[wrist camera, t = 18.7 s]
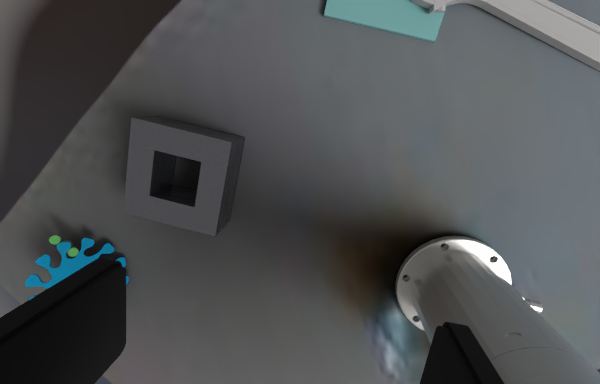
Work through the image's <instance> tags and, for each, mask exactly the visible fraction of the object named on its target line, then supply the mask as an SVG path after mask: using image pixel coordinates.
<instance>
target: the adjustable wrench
mask: <svg viewBox="0 0 600 384" xmlns="http://www.w3.org/2000/svg"><path fill="white" fill-rule="evenodd" d="M411 1H412V2H414V3H416V4H417V5H419V6H422V7H424V8H427V9H429V14H433V13H434V12H435V11H436V13H443V12H445V7H446V6H448V5H453V4H457V3H467V4H472V5H475V6H478V7H480V8H482V9H484V10H486V11H487V12H489V13H491V14H493V15H495V16H497V17H499V18H501V19H502V20H504V21H506V22H508V23H510V24H512V25H514V26H516V27H517V28H519V29H521V30H523V31H525V32H527V33H529V34H531V35H532V36H534V37H536V38H538V39H540V40H542V41H544V42H546V43H547V44H549V45H551V46H553V47H555V48H557V49H559V50H561V51H562V52H564V53H566V54H568V55H570V56H572V57H574V58H576V59H577V60H579V61H581V62H583V63H585V64H587V65H589V66H591V67H593V68H594V69H596V70H598V71H600V26H598V25H596V24H594V23H592V22H590V21H588V20H586V19H584V18H582V17H580V16H578V15H576V14H574V13H572V12H570V11H568V10H566V9H564V8H562V7H560V6H558V5H556V4H554V3H552V2H550V1H548V0H411ZM429 14H428V15H429Z"/></svg>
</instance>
